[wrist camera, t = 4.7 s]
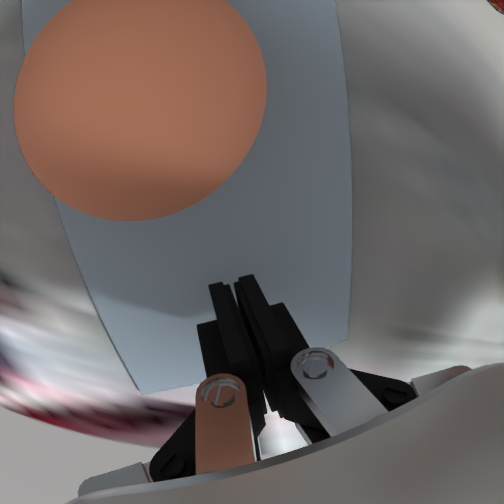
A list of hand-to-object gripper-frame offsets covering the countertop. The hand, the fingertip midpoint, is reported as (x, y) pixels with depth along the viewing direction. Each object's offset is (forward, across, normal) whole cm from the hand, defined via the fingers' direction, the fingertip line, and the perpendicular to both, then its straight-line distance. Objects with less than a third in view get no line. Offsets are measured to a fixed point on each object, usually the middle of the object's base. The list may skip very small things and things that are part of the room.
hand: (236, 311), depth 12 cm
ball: (-2, +2, -8) cm, 8 cm away
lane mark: (+2, 0, -8) cm, 8 cm away
